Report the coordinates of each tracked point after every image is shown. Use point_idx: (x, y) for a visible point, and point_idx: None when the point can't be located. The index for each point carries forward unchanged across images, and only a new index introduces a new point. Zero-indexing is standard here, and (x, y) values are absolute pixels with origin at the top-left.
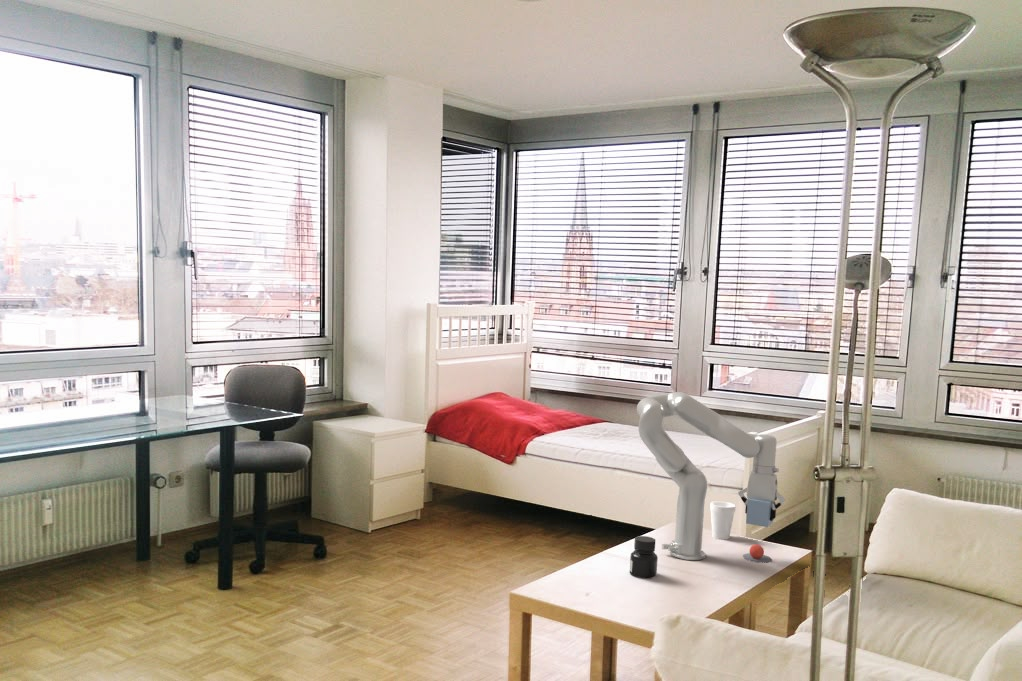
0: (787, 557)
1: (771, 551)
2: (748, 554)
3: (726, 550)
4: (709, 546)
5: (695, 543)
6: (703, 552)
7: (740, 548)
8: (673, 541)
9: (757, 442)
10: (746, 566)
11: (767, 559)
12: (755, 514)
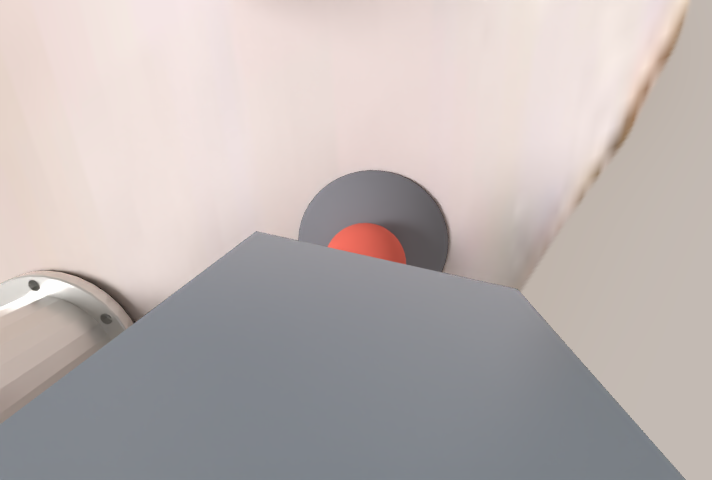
0: (544, 145)
1: (454, 57)
2: (323, 210)
3: (204, 179)
4: (107, 147)
5: None
6: (119, 331)
7: (267, 94)
8: None
9: None
10: None
11: (424, 254)
12: None
